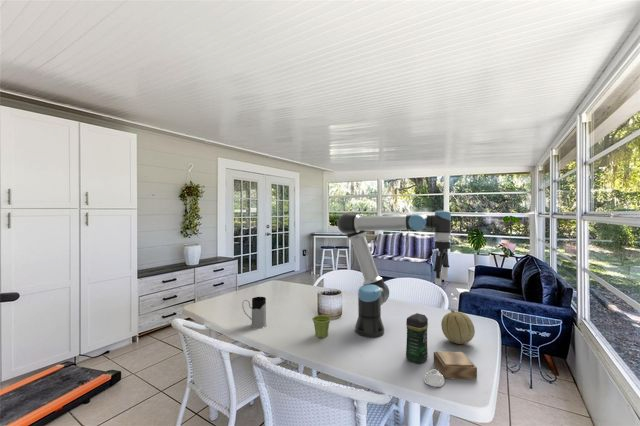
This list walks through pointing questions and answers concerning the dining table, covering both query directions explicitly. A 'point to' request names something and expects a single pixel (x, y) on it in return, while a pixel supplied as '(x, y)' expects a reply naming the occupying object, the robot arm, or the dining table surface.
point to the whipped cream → (434, 378)
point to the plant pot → (321, 325)
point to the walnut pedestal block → (455, 365)
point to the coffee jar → (417, 338)
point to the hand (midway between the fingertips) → (441, 282)
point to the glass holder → (258, 312)
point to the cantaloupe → (457, 327)
